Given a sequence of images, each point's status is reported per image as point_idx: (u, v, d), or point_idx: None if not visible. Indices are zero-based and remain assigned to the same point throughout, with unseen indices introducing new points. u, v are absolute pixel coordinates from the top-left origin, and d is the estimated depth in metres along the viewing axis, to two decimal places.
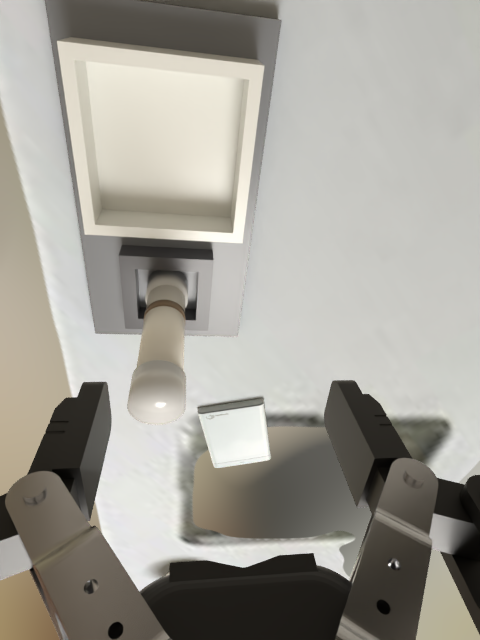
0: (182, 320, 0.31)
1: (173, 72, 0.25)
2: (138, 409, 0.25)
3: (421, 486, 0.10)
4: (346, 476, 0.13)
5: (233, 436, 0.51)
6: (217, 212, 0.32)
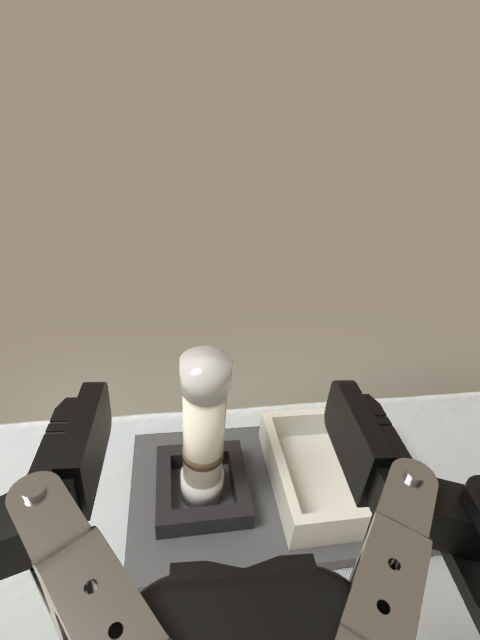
0: (214, 456, 0.30)
1: None
2: (201, 351, 0.28)
3: (421, 486, 0.10)
4: (346, 476, 0.13)
5: None
6: None
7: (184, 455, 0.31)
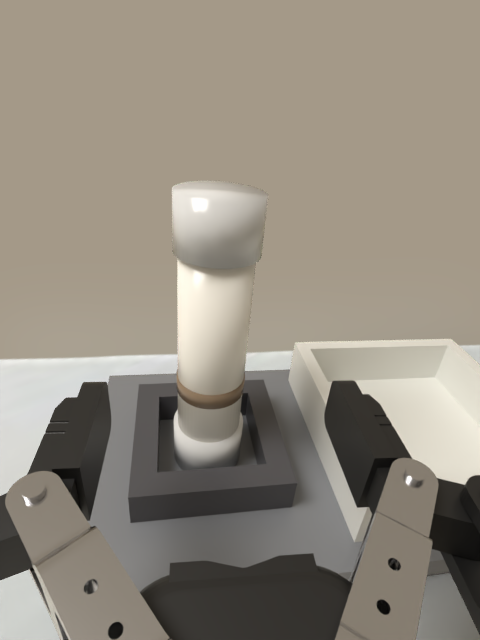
0: (230, 380, 0.18)
1: (479, 433, 0.24)
2: (212, 184, 0.16)
3: (421, 486, 0.10)
4: (346, 476, 0.13)
5: None
6: None
7: (180, 381, 0.18)
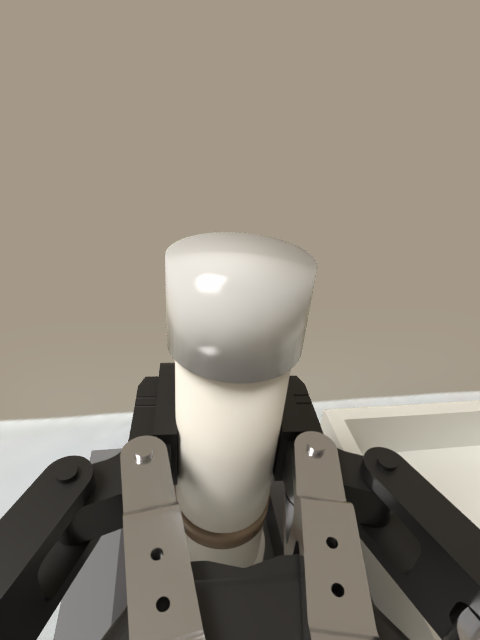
0: (252, 512, 0.12)
1: None
2: (226, 240, 0.10)
3: (320, 456, 0.11)
4: None
5: None
6: None
7: None
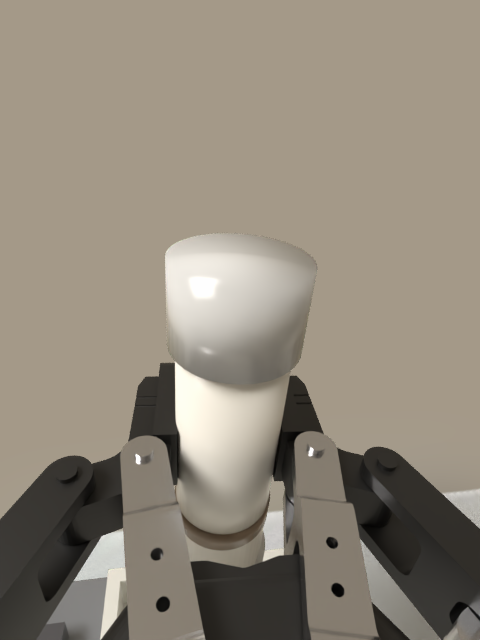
0: (252, 513, 0.12)
1: None
2: (226, 241, 0.10)
3: (319, 456, 0.11)
4: None
5: None
6: None
7: None
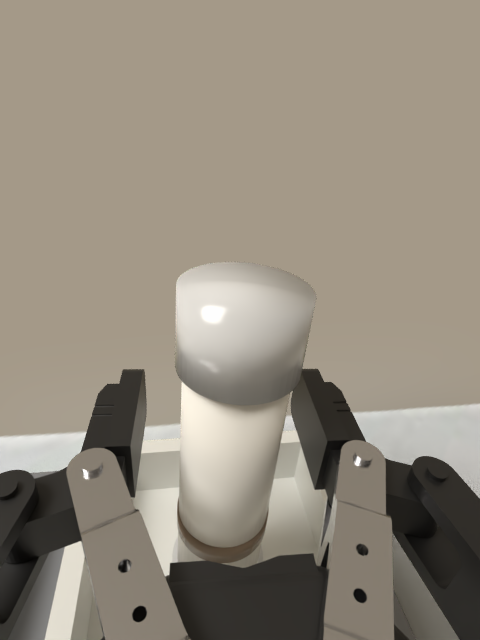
0: (252, 527, 0.13)
1: None
2: (232, 270, 0.11)
3: (368, 466, 0.11)
4: (306, 460, 0.13)
5: None
6: None
7: (182, 522, 0.14)
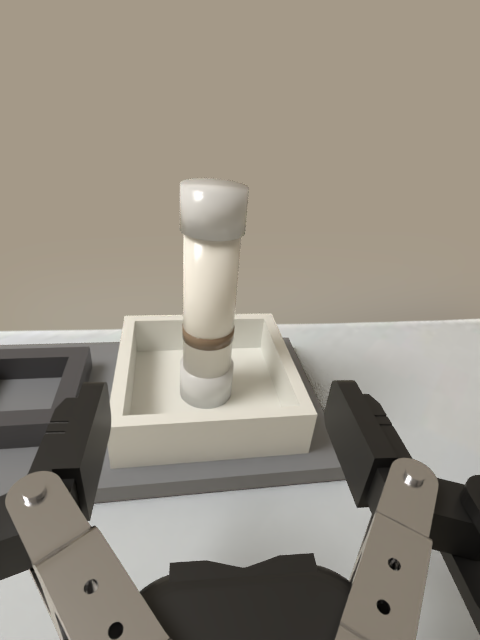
0: (223, 328, 0.24)
1: (270, 390, 0.28)
2: (208, 180, 0.22)
3: (421, 486, 0.10)
4: (346, 476, 0.13)
5: None
6: None
7: (185, 330, 0.24)
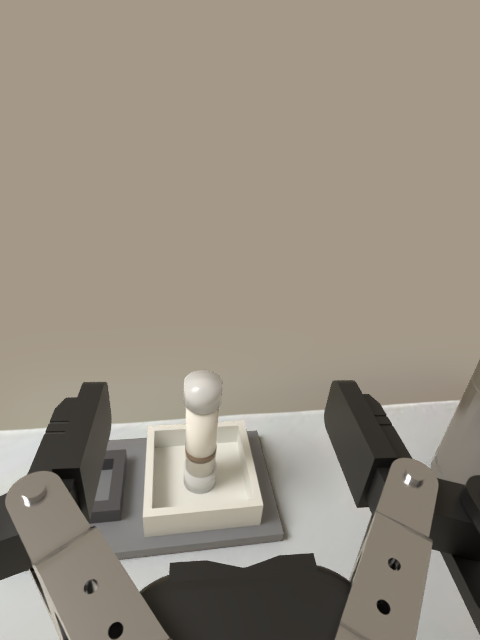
0: (209, 451, 0.40)
1: (240, 478, 0.45)
2: (200, 374, 0.38)
3: (421, 486, 0.10)
4: (346, 476, 0.13)
5: None
6: None
7: (186, 451, 0.41)
